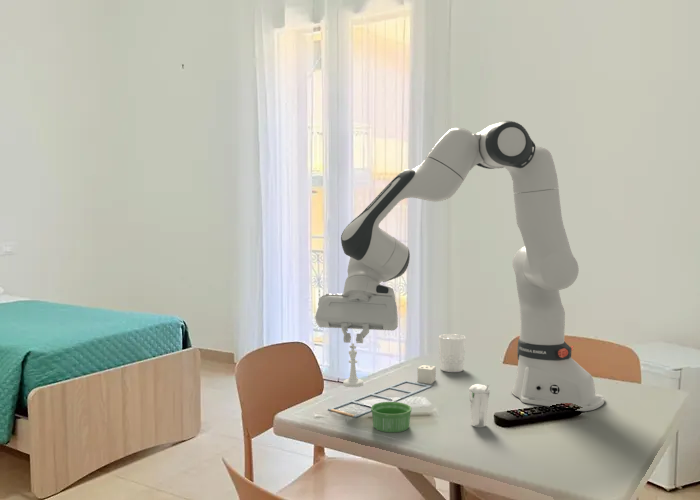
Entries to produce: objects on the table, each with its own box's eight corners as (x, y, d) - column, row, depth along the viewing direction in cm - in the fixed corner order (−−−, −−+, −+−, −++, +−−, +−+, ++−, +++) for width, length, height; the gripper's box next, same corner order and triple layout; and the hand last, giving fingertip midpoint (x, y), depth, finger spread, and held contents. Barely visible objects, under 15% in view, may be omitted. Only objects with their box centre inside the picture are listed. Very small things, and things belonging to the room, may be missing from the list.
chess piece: (354, 388, 153) (354, 346, 153) (338, 385, 157) (338, 344, 156) (367, 384, 157) (367, 343, 156) (352, 380, 160) (351, 340, 159)
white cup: (438, 372, 192) (438, 338, 191) (438, 365, 199) (439, 333, 199) (465, 373, 190) (465, 339, 190) (465, 366, 198) (465, 334, 197)
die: (435, 380, 183) (435, 366, 183) (431, 384, 180) (431, 369, 179) (421, 378, 185) (422, 364, 185) (417, 382, 181) (417, 367, 181)
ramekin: (419, 428, 144) (419, 409, 144) (387, 437, 139) (387, 416, 139) (394, 417, 151) (394, 399, 151) (363, 425, 146) (363, 405, 146)
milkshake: (479, 430, 142) (480, 385, 142) (464, 423, 147) (465, 379, 146) (495, 427, 144) (496, 383, 144) (480, 420, 149) (481, 377, 148)
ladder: (431, 386, 176) (431, 385, 176) (356, 417, 151) (356, 416, 151) (405, 381, 182) (405, 380, 182) (328, 410, 156) (328, 408, 156)
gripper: (318, 286, 164) (308, 332, 155) (399, 288, 160) (393, 336, 151) (322, 301, 168) (312, 346, 160) (401, 304, 165) (396, 350, 156)
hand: (353, 341), depth 155 cm, fingers closed
